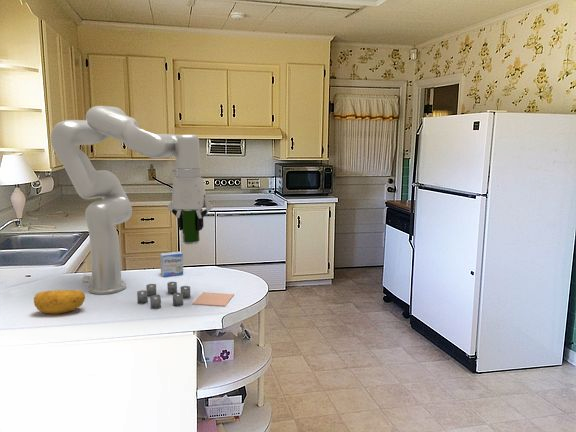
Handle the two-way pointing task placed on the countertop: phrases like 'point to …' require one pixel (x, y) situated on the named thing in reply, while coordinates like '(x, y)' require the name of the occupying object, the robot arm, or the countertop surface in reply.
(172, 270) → the medicine box
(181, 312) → the countertop surface
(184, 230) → the beer can
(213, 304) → the terracotta tile
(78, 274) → the countertop surface
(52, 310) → the potato
